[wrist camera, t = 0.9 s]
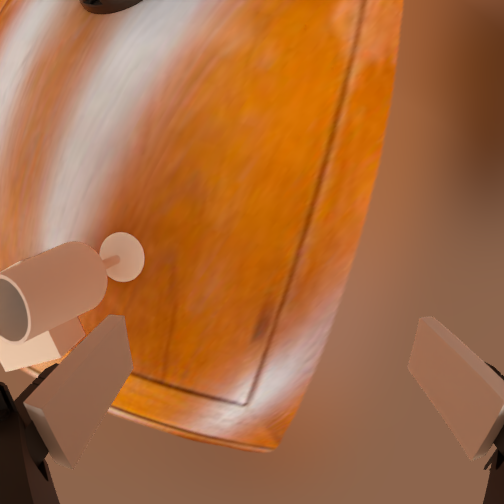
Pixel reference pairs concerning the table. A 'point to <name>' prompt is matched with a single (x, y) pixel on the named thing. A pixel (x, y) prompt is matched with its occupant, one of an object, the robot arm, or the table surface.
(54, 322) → the champagne flute
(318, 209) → the table surface
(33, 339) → the riser
